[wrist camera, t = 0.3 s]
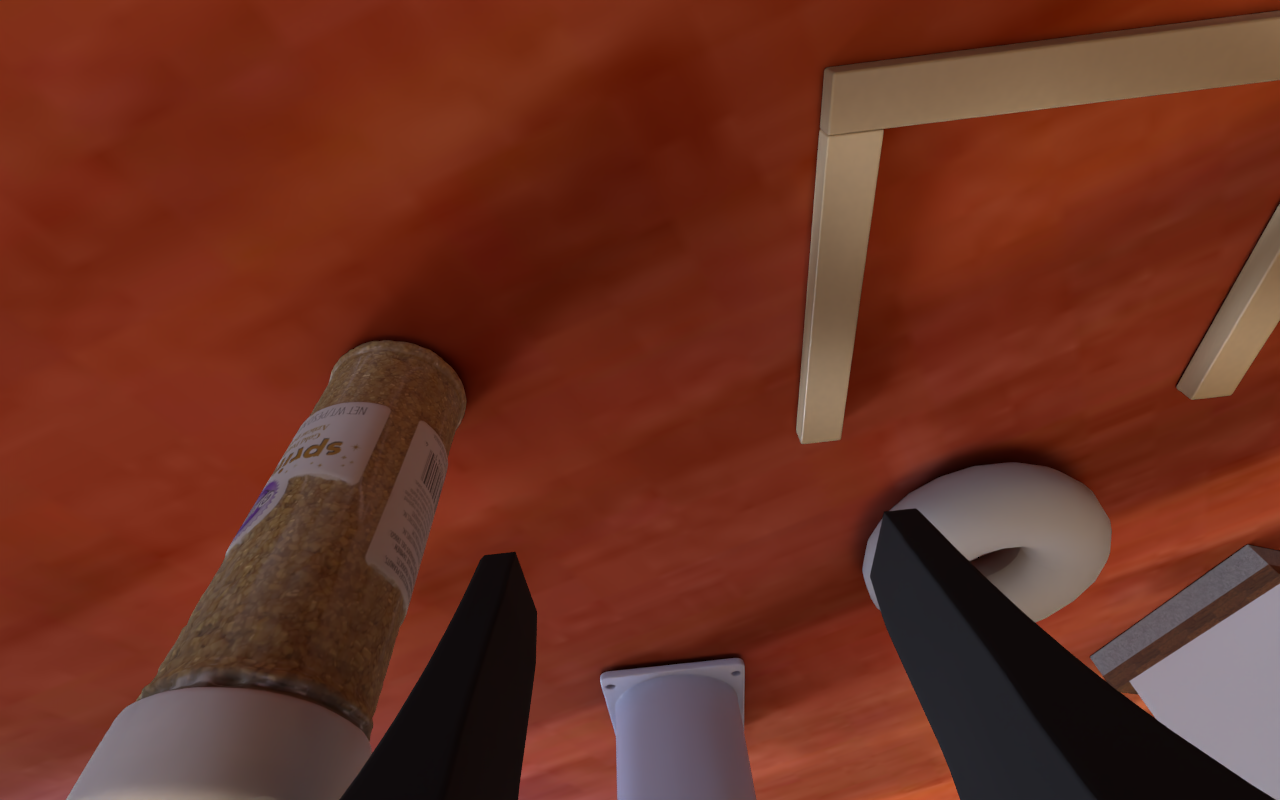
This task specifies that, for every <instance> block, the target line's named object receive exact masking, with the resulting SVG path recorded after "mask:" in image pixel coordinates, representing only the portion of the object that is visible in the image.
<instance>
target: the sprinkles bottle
mask: <svg viewBox="0 0 1280 800" xmlns="http://www.w3.org/2000/svg"><path fill="white" fill-rule="evenodd" d="M466 403H467V402H466V395H465V391H464V386H463V384H462V382H461V380H460V378H459V377H458V375H457V373H456V372H455V371H454V369H453V368H452V367H451V366H450V365H448V364H447V363H446V362H445V361H444V360H443V359H442V358H441V357H439V356H438V355H437V354H435V353H434V352H432V351H431V350H430V349H426V348H423V347H420V346H418V345H416V344H413V343H408V342H399V341H391V340H383V341H370V342H367V343H364V344H362V345H360V346H358V347H356V348H355V349H352V350H350V351H348V353H346V354H345V355H343V356H342V357H341V358H340V359H339V361H338V362H337V363H336V364H335V366H334V368H333V370H332V372H331V376H330V380H329V384H328V386H327V387H326V389H325V391H324V393H323V394H322V396H321V398H320V400H319V402H318V403H317V404H316V405H315V407H314V410H313V411H312V413H311V415H310V417H309V418H308V419H307V420H306V421H305V422H304V423H303V424H302V426H301V427H300V429H299V430H298V432H297V434H296V435H295V437H294V439H293V440H292V442H291V444H290V445H289V447H288V449H287V451H286V452H285V454H284V456H283V457H282V459H281V461H280V462H279V464H278V466H277V468H276V469H275V471H274V473H273V474H272V476H271V478H270V479H269V481H268V483H267V484H266V486H265V488H264V489H263V491H262V493H261V494H260V496H259V498H258V499H257V501H256V503H255V505H254V506H253V508H252V509H251V511H250V513H249V514H248V516H247V518H246V520H245V521H244V523H243V525H242V526H241V528H240V530H239V531H238V533H237V535H236V536H235V538H234V540H233V541H232V543H231V545H230V546H229V548H228V550H227V552H226V555H225V559H224V561H223V563H222V565H221V567H220V569H219V570H218V572H217V573H216V575H215V576H214V578H213V580H212V582H211V583H210V585H209V587H208V588H207V590H206V591H205V593H204V594H203V595H202V597H201V599H200V600H199V602H198V604H197V606H196V608H195V610H194V611H193V613H192V615H191V617H190V619H189V621H188V624H187V625H186V626H185V627H184V628H183V629H182V631H181V633H180V635H179V638H178V640H177V641H176V643H175V644H174V646H173V647H172V649H171V650H170V652H169V653H168V655H167V657H166V658H165V660H164V662H163V663H162V664H161V665H160V668H159V670H158V674H157V675H156V677H155V678H154V680H153V681H152V682H151V683H150V684H149V685H147V686H145V687H144V688H143V690H142V693H141V694H140V696H139V697H138V698H137V701H136V702H135V703H133V704H131V705H129V706H127V707H126V708H125V709H124V710H123V711H122V712H121V713H120V714H119V715H118V716H117V717H116V719H115V720H114V722H113V723H112V725H111V727H110V728H109V730H108V731H107V733H106V735H105V736H104V738H103V739H102V741H101V743H100V744H99V746H98V747H97V749H96V750H95V752H94V754H93V755H92V757H91V759H90V760H89V762H88V764H87V765H86V767H85V769H84V770H83V772H82V774H81V775H80V777H79V779H78V780H77V782H76V784H75V785H74V787H73V789H72V790H71V792H70V794H69V796H68V797H67V799H66V800H339V799H340V798H341V797H342V795H343V794H344V792H345V791H346V790H347V788H348V787H349V786H350V784H351V783H352V782H353V780H354V779H355V778H356V776H357V775H358V773H359V772H360V770H361V769H362V767H363V766H364V765H365V763H366V762H367V760H368V759H369V757H370V756H371V746H370V743H369V741H370V734H371V731H372V728H373V721H372V717H373V715H374V713H375V710H376V706H377V703H378V699H379V695H380V693H381V690H382V686H383V681H384V678H385V675H386V672H387V668H388V665H389V661H390V659H391V655H392V652H393V648H394V644H395V639H396V637H397V635H398V631H399V627H400V626H401V624H402V623H403V621H404V618H405V616H406V613H407V610H408V606H409V603H410V599H411V596H412V592H413V589H414V585H415V581H416V578H417V574H418V571H419V567H420V564H421V560H422V557H423V553H424V550H425V546H426V543H427V539H428V536H429V532H430V529H431V525H432V522H433V518H434V515H435V511H436V508H437V504H438V501H439V497H440V494H441V490H442V487H443V483H444V480H445V476H446V472H447V466H448V455H449V451H450V447H451V444H452V441H453V437H454V434H455V430H456V429H457V428H458V426H459V425H460V423H461V421H462V419H463V417H464V414H465V409H466Z"/></svg>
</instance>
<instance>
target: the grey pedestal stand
mask: <svg viewBox="0 0 1280 800" xmlns="http://www.w3.org/2000/svg"><path fill="white" fill-rule="evenodd" d="M1090 658H1091V659H1092V661H1093V662H1094V664H1095V665H1096V667H1097V668H1098V670H1099V671H1100V672H1101V674H1102V675H1103V677H1104V678H1105V680H1106V681H1107V683H1108V684H1110V685H1111V686H1112V687H1114V688H1115V689H1116V690H1118V691H1119V692H1122V693H1131V694H1139V696H1140V697H1141V698H1142V700H1143V701H1144V703H1145V704H1146V705H1147V707H1148V708H1149V710H1150V711H1151V712H1152V714H1153V715H1154V717H1155V718H1156V719H1157V720H1158V721H1159V722H1161V723H1162V724H1163V725H1165V726H1166V727H1167V728H1169V729H1170V730H1172V731H1173V732H1175V733H1176V734H1178V735H1179V736H1181V737H1182V738H1183V739H1185V740H1186V741H1188V742H1189V743H1191V744H1192V745H1194V746H1195V747H1197V748H1198V749H1200V750H1201V751H1203V752H1204V753H1206V754H1207V755H1209V756H1210V757H1212V758H1213V759H1215V760H1216V761H1218V762H1219V763H1220V764H1222V765H1223V766H1225V767H1226V768H1228V769H1229V770H1231V771H1232V772H1234V773H1235V774H1237V775H1238V776H1240V777H1241V778H1243V779H1244V780H1246V781H1247V782H1249V783H1250V784H1252V785H1253V786H1255V787H1256V788H1258V789H1260V790H1261V791H1263V792H1264V793H1266V794H1268V795H1269V796H1271V797H1272V798H1274V799H1276V800H1280V551H1276V550H1272V549H1267V548H1262V547H1257V546H1252V545H1246V546H1245V547H1243V548H1242V549H1241V550H1239V551H1238V552H1236V553H1235V554H1234V555H1232V556H1231V557H1229V558H1228V559H1226V560H1225V561H1224V562H1222V563H1221V564H1219V565H1218V566H1217V567H1215V568H1214V569H1212V570H1211V571H1210V572H1208V573H1207V574H1205V575H1204V576H1203V577H1201V578H1200V579H1198V580H1197V581H1196V582H1194V583H1193V584H1191V585H1190V586H1189V587H1187V588H1186V589H1184V590H1183V591H1182V592H1180V593H1179V594H1177V595H1176V596H1175V597H1173V598H1172V599H1170V600H1169V601H1168V602H1166V603H1165V604H1163V605H1162V606H1161V607H1159V608H1158V609H1156V610H1155V611H1154V612H1152V613H1151V614H1149V615H1148V616H1147V617H1145V618H1144V619H1142V620H1141V621H1140V622H1138V623H1137V624H1135V625H1134V626H1133V627H1131V628H1130V629H1128V630H1127V631H1126V632H1124V633H1123V634H1121V635H1120V636H1119V637H1117V638H1116V639H1114V640H1113V641H1112V642H1110V643H1109V644H1107V645H1106V646H1105V647H1103V648H1102V649H1100V650H1099V651H1098V652H1096V653H1095V654H1093V655H1092V656H1091V657H1090Z"/></svg>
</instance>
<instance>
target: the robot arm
mask: <svg viewBox="0 0 1280 800" xmlns="http://www.w3.org/2000/svg"><path fill="white" fill-rule="evenodd" d="M870 579H871V582H872V585H873V588H874V592H875V595H876V598H877V601H878V604H879V607H880V610H881V613H882V616H883V619H884V622H885V625H886V628H887V630H888V633H889V635H890V637H891V639H892V642H893V644H894V646H895V648H896V651H897V653H898V655H899V657H900V659H901V662H902V664H903V666H904V668H905V670H906V673H907V675H908V677H909V679H910V681H911V684H912V686H913V688H914V690H915V692H916V694H917V697H918V699H919V701H920V703H921V705H922V708H923V710H924V712H925V714H926V716H927V718H928V721H929V723H930V725H931V727H932V729H933V732H934V734H935V736H936V738H937V740H938V742H939V745H940V747H941V750H942V752H943V755H944V757H945V759H946V762H947V764H948V767H949V769H950V772H951V775H952V777H953V780H954V783H955V786H956V789H957V792H958V794H959V797H960V800H1276V799H1274V798H1272V797H1271V796H1269V795H1268V794H1266V793H1264V792H1263V791H1261V790H1260V789H1258V788H1256V787H1255V786H1253V785H1252V784H1250V783H1249V782H1247V781H1246V780H1244V779H1243V778H1241V777H1240V776H1238V775H1237V774H1235V773H1234V772H1232V771H1231V770H1229V769H1228V768H1226V767H1225V766H1223V765H1222V764H1220V763H1219V762H1218V761H1216V760H1215V759H1213V758H1212V757H1210V756H1209V755H1207V754H1206V753H1204V752H1203V751H1201V750H1200V749H1198V748H1197V747H1195V746H1194V745H1192V744H1191V743H1189V742H1188V741H1186V740H1185V739H1183V738H1182V737H1181V736H1179V735H1178V734H1176V733H1175V732H1173V731H1172V730H1170V729H1169V728H1167V727H1166V726H1165V725H1163V724H1162V723H1161V722H1159V721H1158V720H1157V719H1155V718H1154V717H1152V716H1151V715H1150V714H1148V713H1147V712H1146V711H1144V710H1143V709H1141V708H1140V707H1139V706H1137V705H1136V704H1135V703H1133V702H1132V701H1131V700H1129V699H1128V698H1127V697H1125V696H1124V695H1123V694H1121V693H1120V692H1119V691H1118V690H1116V689H1115V688H1114V687H1112V686H1111V685H1110V684H1108V683H1107V682H1106V681H1105V680H1103V679H1102V678H1101V677H1099V676H1098V675H1097V674H1096V673H1094V672H1093V671H1092V670H1091V669H1089V668H1088V667H1087V666H1086V665H1084V664H1083V663H1082V662H1081V661H1080V660H1078V659H1077V658H1076V657H1075V656H1073V655H1072V654H1071V653H1070V652H1069V651H1067V650H1066V649H1065V648H1064V647H1063V646H1062V645H1060V644H1059V643H1058V642H1057V641H1056V640H1055V639H1053V638H1052V637H1051V636H1050V635H1049V634H1048V633H1046V632H1045V631H1044V630H1043V629H1042V628H1041V627H1039V626H1038V625H1037V624H1036V623H1035V622H1034V621H1033V620H1032V619H1030V618H1029V617H1028V616H1027V615H1026V614H1025V613H1024V612H1023V611H1021V610H1020V609H1019V608H1018V607H1017V606H1016V605H1015V604H1014V603H1013V602H1012V601H1011V600H1010V599H1009V598H1007V597H1006V596H1005V595H1004V594H1003V593H1002V592H1001V591H1000V590H999V589H998V588H997V587H996V586H994V585H993V584H992V583H991V582H990V581H989V580H988V579H987V578H986V577H985V576H984V575H983V574H982V573H981V572H980V571H979V570H978V569H977V568H976V567H975V566H974V565H973V564H972V563H971V562H970V561H969V560H968V559H967V558H966V557H965V556H963V555H962V554H961V553H960V552H959V551H958V550H957V549H956V548H955V547H954V546H953V545H952V544H951V543H950V542H949V541H948V540H947V539H946V538H945V537H944V535H943V534H942V533H941V532H940V531H939V530H938V529H937V528H936V527H935V526H934V525H933V524H932V523H931V522H930V521H929V520H928V519H927V518H926V517H925V516H924V515H923V514H922V513H921V512H920V511H919V510H917V509H916V508H913V509H904V510H895V511H886V512H884V514H883V519H882V523H881V528H880V532H879V537H878V541H877V546H876V550H875V555H874V559H873V564H872V568H871V573H870ZM536 636H537V611H536V608H535V605H534V602H533V600H532V597H531V594H530V591H529V589H528V586H527V583H526V580H525V577H524V575H523V572H522V569H521V566H520V564H519V561H518V558H517V555H516V552H510V553H501V554H492V555H484V557H483V558H482V559H481V560H480V562H479V564H478V566H477V568H476V571H475V573H474V575H473V577H472V579H471V581H470V584H469V586H468V588H467V590H466V592H465V594H464V596H463V598H462V600H461V602H460V604H459V606H458V608H457V610H456V612H455V614H454V616H453V618H452V620H451V622H450V624H449V626H448V628H447V630H446V632H445V633H444V635H443V637H442V639H441V641H440V643H439V644H438V646H437V648H436V650H435V652H434V654H433V655H432V657H431V659H430V661H429V663H428V665H427V666H426V668H425V670H424V672H423V673H422V675H421V677H420V678H419V680H418V682H417V683H416V685H415V687H414V688H413V690H412V692H411V693H410V695H409V697H408V698H407V700H406V702H405V703H404V705H403V707H402V708H401V710H400V712H399V713H398V715H397V716H396V718H395V720H394V721H393V723H392V724H391V726H390V727H389V729H388V730H387V732H386V734H385V735H384V737H383V738H382V740H381V741H380V743H379V744H378V746H377V747H376V749H375V750H374V752H373V753H372V754H371V756H370V757H369V759H368V760H367V762H366V763H365V765H364V766H363V767H362V769H361V770H360V772H359V773H358V775H357V776H356V778H355V779H354V780H353V782H352V783H351V784H350V786H349V787H348V788H347V790H346V791H345V792H344V794H343V795H342V797H341V798H340V799H339V800H518V794H519V784H520V777H521V770H522V762H523V755H524V748H525V740H526V733H527V726H528V718H529V711H530V704H531V696H532V689H533V681H534V673H535V665H536ZM600 683H601V686H602V690H603V693H604V697H605V700H606V703H607V707H608V710H609V714H610V717H611V721H612V724H613V728H614V731H615V734H616V756H617V800H756V795H755V790H754V784H753V779H752V773H751V768H750V763H749V757H748V752H747V746H746V741H745V735H744V689H745V666H744V662H743V660H742V659H740V658H728V659H719V660H710V661H700V662H691V663H681V664H672V665H663V666H653V667H644V668H635V669H625V670H616V671H607V672H604V673H602V674H601V676H600Z"/></svg>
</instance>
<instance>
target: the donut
mask: <svg viewBox="0 0 1280 800" xmlns="http://www.w3.org/2000/svg"><path fill="white" fill-rule="evenodd" d="M913 508H916V509H917V510H919V511H920V512H921V513H922V514H923V515H924V516H925V517H926V518H927V519H928V520H929V521H930V522H931V523H932V524H933V525H934V526H935V527H936V528H937V529H938V530H939V531H940V532H941V533H942V534H943V535H944V537H945V538H946V539H947V540H948V541H949V542H950V543H951V544H952V545H953V546H954V547H955V548H956V549H957V550H958V551H959V552H960V553H961V554H962V555H963V556H965V557H966V558H967V559H968V560H969V561H970V562H971V563H972V564H973V565H974V566H975V567H976V568H977V569H978V570H979V571H980V572H981V573H982V574H983V575H984V576H985V577H986V578H987V579H988V580H989V581H990V582H991V583H992V584H993V585H994V586H996V587H997V588H998V589H999V590H1000V591H1001V592H1002V593H1003V594H1004V595H1005V596H1006V597H1007V598H1009V599H1010V600H1011V601H1012V602H1013V603H1014V604H1015V605H1016V606H1017V607H1018V608H1019V609H1020V610H1021V611H1023V612H1024V613H1025V614H1026V615H1027V616H1028V617H1029V618H1030V619H1032V620H1033V621H1034V622H1037V621H1040V620H1042V619H1044V618H1047V617H1048V616H1050V615H1051V614H1053V613H1055V612H1056V611H1058V610H1060V609H1061V608H1063V607H1065V606H1066V605H1068V604H1069V603H1071V602H1072V601H1074V600H1075V599H1076V598H1077V597H1078V596H1079V595H1081V594H1082V593H1083V592H1084V591H1085V590H1086V589H1087V588H1088V587H1089V586H1090V585H1091V584H1093V583H1094V582H1095V580H1096V578H1097V577H1098V575H1099V573H1100V572H1101V570H1102V568H1103V567H1104V565H1105V563H1106V562H1107V559H1108V556H1109V554H1110V546H1111V534H1112V531H1111V523H1110V519H1109V518H1108V516H1107V514H1106V513H1105V511H1104V510H1103V508H1102V506H1101V505H1100V503H1099V501H1098V500H1097V498H1096V497H1095V495H1094V493H1093V492H1092V491H1091V490H1090V489H1089V488H1088V487H1086V486H1085V485H1084V484H1083V483H1081V482H1079V481H1077V480H1075V479H1073V478H1071V477H1070V476H1068V475H1066V474H1064V473H1062V472H1060V471H1058V470H1055V469H1053V468H1050V467H1047V466H1040V465H1032V464H1025V463H1017V462H1007V463H997V464H989V465H980V466H972V467H969V468H966V469H963V470H960V471H956V472H953V473H950V474H947V475H944V476H941V477H938V478H936V479H935V480H933V481H931V482H929V483H927V484H925V485H924V486H922V487H920V488H918V489H916V490H914V491H913V492H911V493H909V494H908V495H907V496H906V497H904V498H903V499H902V500H901V501H900V502H899V503H897V504H896V505H895V506H894V507H893V508H892V509H890V510H889V511H895V510H904V509H913ZM882 519H883V518H882ZM882 519H881V521H880V522H879V524H878V525H877V527H876V528H875V530H874V531H873V533H872V534H871V536H870V537H869V539H868V542H867V547H866V552H865V557H864V563H863V568H862V571H863V576H864V580H865V583H866V586H867V589H868V591H869V594H870V597H871V599H872V601H873V602H874V604H875V605H876V607H877V608H878V609H879V610H880V607H879V604H878V601H877V598H876V595H875V592H874V588H873V585H872V582H871V579H870V573H871V568H872V564H873V559H874V555H875V550H876V546H877V541H878V537H879V532H880V528H881V523H882ZM990 552H991V553H990ZM986 553H989V554H987V555H984V556H982V557H980V558H978V559H975V558H977V557H979V556H981V555H983V554H986ZM973 559H975V560H973ZM880 611H881V610H880Z"/></svg>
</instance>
